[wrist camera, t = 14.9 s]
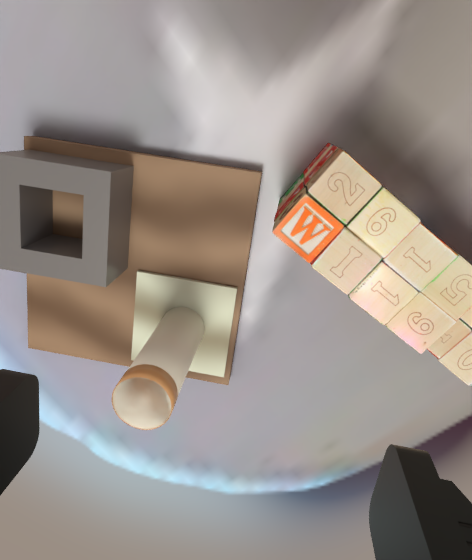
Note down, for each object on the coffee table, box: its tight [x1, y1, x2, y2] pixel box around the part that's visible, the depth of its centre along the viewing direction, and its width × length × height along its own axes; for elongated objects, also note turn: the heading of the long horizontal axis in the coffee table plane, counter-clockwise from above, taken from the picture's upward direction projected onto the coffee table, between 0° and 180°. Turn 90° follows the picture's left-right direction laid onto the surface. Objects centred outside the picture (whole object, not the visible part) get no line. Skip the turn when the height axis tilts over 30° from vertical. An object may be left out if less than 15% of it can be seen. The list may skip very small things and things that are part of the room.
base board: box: [24, 136, 262, 385], centre depth 41 cm, size 20×20×2 cm
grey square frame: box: [0, 150, 134, 287], centre depth 37 cm, size 9×9×5 cm
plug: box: [112, 307, 205, 430], centre depth 35 cm, size 4×4×12 cm
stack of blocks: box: [272, 143, 472, 386], centre depth 33 cm, size 21×6×12 cm, turn 51°
